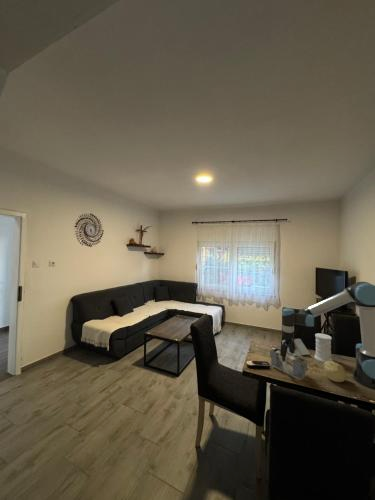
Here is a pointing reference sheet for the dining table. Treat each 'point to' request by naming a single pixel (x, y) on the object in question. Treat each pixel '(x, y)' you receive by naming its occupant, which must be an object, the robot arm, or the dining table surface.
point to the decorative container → (323, 347)
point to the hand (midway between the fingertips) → (287, 363)
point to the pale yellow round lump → (334, 371)
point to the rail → (288, 358)
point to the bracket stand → (294, 371)
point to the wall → (299, 348)
